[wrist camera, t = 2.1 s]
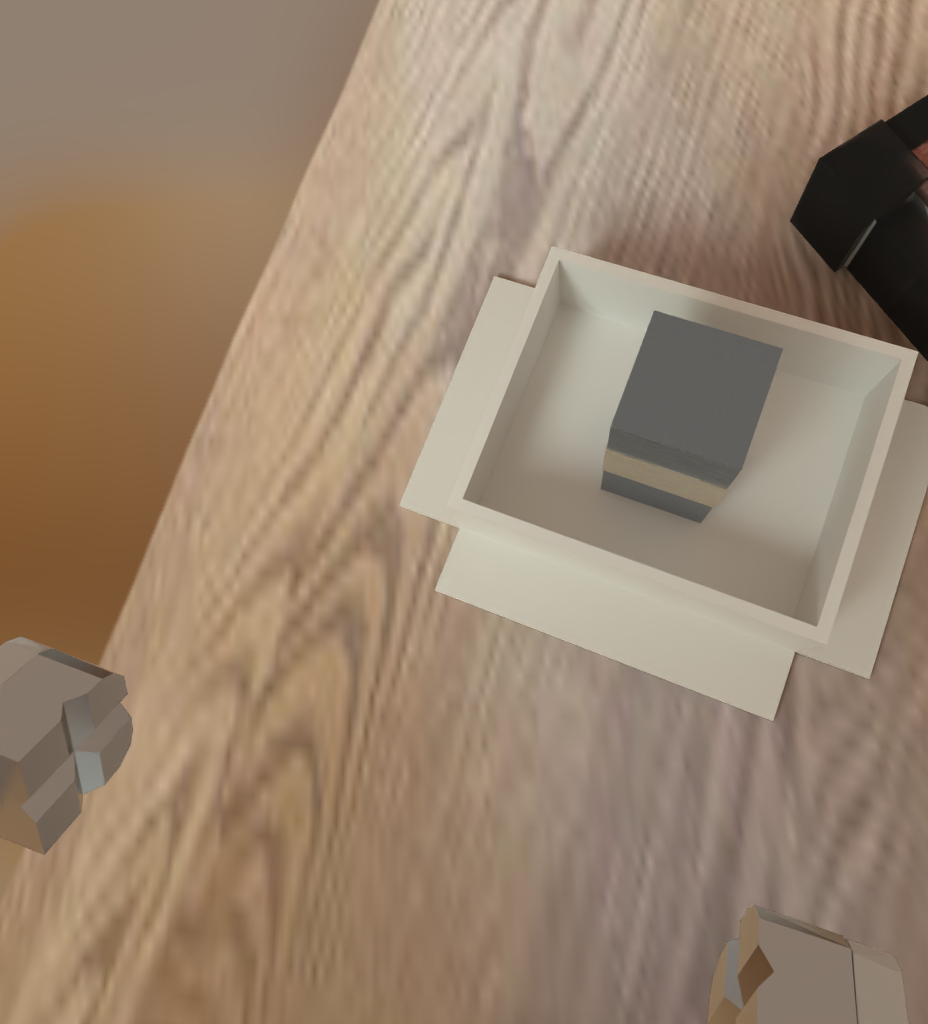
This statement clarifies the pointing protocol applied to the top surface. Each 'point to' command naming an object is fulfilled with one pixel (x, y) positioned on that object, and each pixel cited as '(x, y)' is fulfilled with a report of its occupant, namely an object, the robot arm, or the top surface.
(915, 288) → the book
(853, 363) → the box
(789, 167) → the top surface
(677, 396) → the tea tin
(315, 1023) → the top surface
